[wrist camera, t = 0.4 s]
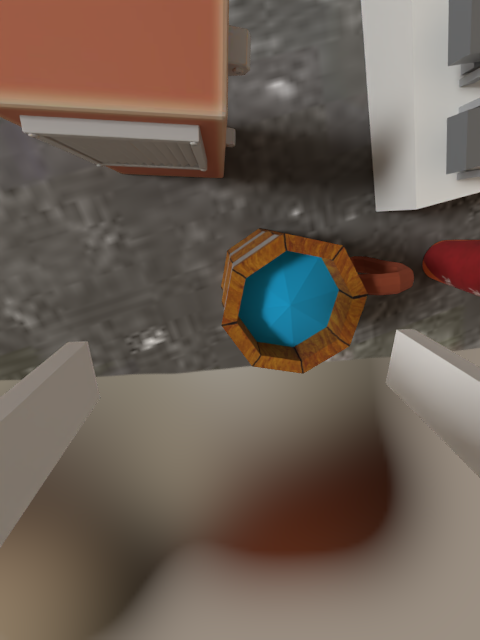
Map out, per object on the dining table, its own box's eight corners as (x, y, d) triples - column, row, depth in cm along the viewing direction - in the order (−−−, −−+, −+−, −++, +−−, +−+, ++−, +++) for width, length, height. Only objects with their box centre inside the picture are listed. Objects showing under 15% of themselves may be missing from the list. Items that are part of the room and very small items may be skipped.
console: (356, -59, 27) (441, -232, 17) (458, -89, 27) (608, -285, 17) (376, 211, 36) (439, 208, 26) (452, 190, 36) (546, 179, 26)
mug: (230, 330, 41) (236, 387, 27) (209, 238, 36) (202, 250, 22) (358, 303, 41) (430, 346, 27) (354, 207, 36) (439, 200, 22)
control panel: (102, 113, 31) (234, 121, 32) (110, 181, 33) (233, 186, 34) (-120, -87, 11) (258, -48, 12) (-59, 123, 13) (251, 140, 14)
